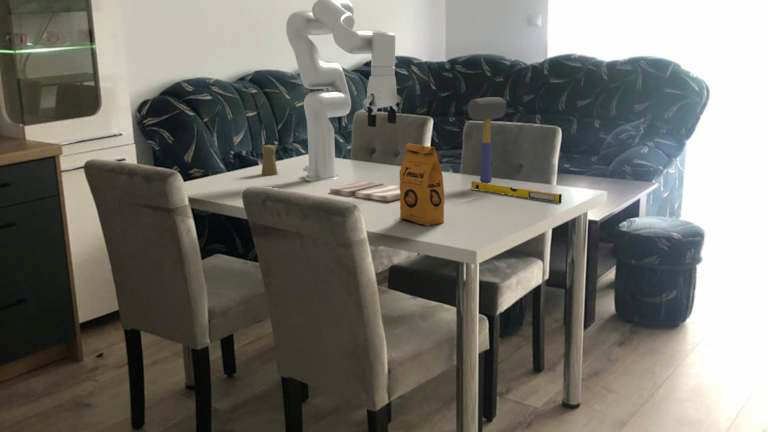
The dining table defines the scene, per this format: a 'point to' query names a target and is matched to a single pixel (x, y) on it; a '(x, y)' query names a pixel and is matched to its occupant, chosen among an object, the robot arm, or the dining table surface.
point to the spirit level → (518, 191)
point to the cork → (269, 161)
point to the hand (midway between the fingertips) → (381, 124)
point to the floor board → (358, 186)
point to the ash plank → (380, 193)
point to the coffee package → (421, 186)
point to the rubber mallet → (486, 128)
